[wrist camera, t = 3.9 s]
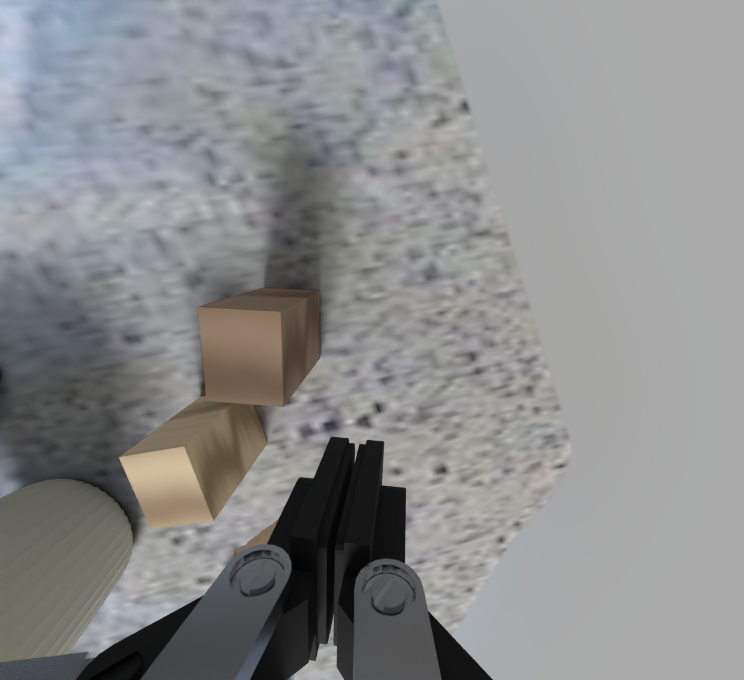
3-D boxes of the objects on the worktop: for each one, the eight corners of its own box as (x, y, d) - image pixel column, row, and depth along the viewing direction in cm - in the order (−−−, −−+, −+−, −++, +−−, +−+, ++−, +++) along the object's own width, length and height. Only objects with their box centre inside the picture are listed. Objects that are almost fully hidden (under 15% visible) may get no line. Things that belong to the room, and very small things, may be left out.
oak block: (200, 396, 34) (118, 457, 24) (248, 387, 33) (184, 446, 23) (220, 451, 35) (150, 529, 25) (267, 443, 34) (213, 521, 25)
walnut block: (263, 287, 30) (197, 307, 21) (320, 290, 30) (280, 311, 20) (266, 353, 32) (206, 400, 22) (320, 357, 31) (283, 406, 22)
